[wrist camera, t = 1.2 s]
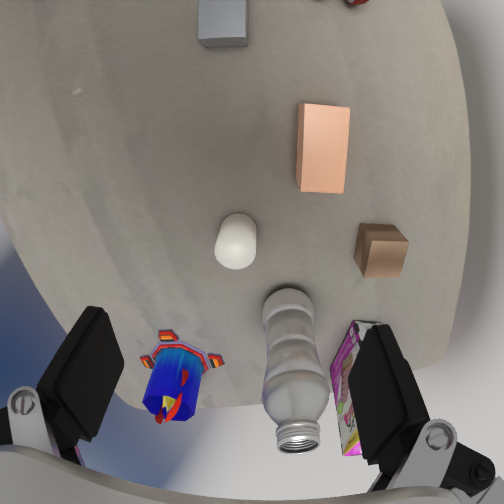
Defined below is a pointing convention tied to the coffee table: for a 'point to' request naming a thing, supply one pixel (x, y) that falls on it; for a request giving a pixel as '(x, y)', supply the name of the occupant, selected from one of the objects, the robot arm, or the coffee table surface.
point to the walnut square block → (380, 251)
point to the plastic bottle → (293, 372)
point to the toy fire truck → (357, 1)
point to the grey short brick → (223, 23)
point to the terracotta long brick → (322, 148)
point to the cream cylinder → (236, 242)
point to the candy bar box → (341, 388)
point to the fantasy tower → (175, 377)
